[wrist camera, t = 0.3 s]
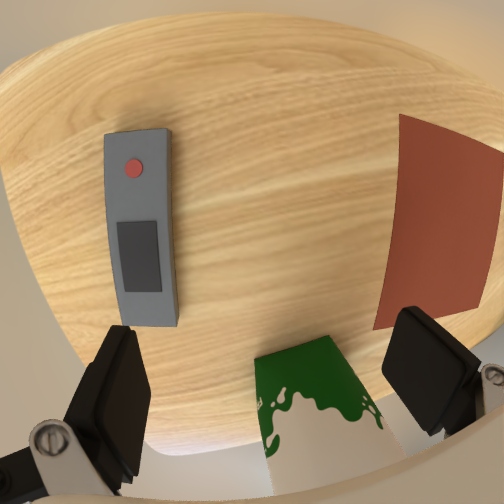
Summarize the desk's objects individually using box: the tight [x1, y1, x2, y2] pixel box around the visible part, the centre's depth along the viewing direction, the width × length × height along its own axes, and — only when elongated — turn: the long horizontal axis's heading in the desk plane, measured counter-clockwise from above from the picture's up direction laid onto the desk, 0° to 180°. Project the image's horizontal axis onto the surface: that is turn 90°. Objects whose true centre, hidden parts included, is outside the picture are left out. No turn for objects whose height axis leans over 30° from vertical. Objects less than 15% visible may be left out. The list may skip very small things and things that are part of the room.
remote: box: [104, 128, 179, 327], centre depth 18 cm, size 14×4×2 cm, turn 179°
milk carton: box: [254, 335, 408, 496], centre depth 16 cm, size 9×9×20 cm
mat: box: [373, 114, 504, 330], centre depth 23 cm, size 20×18×1 cm
